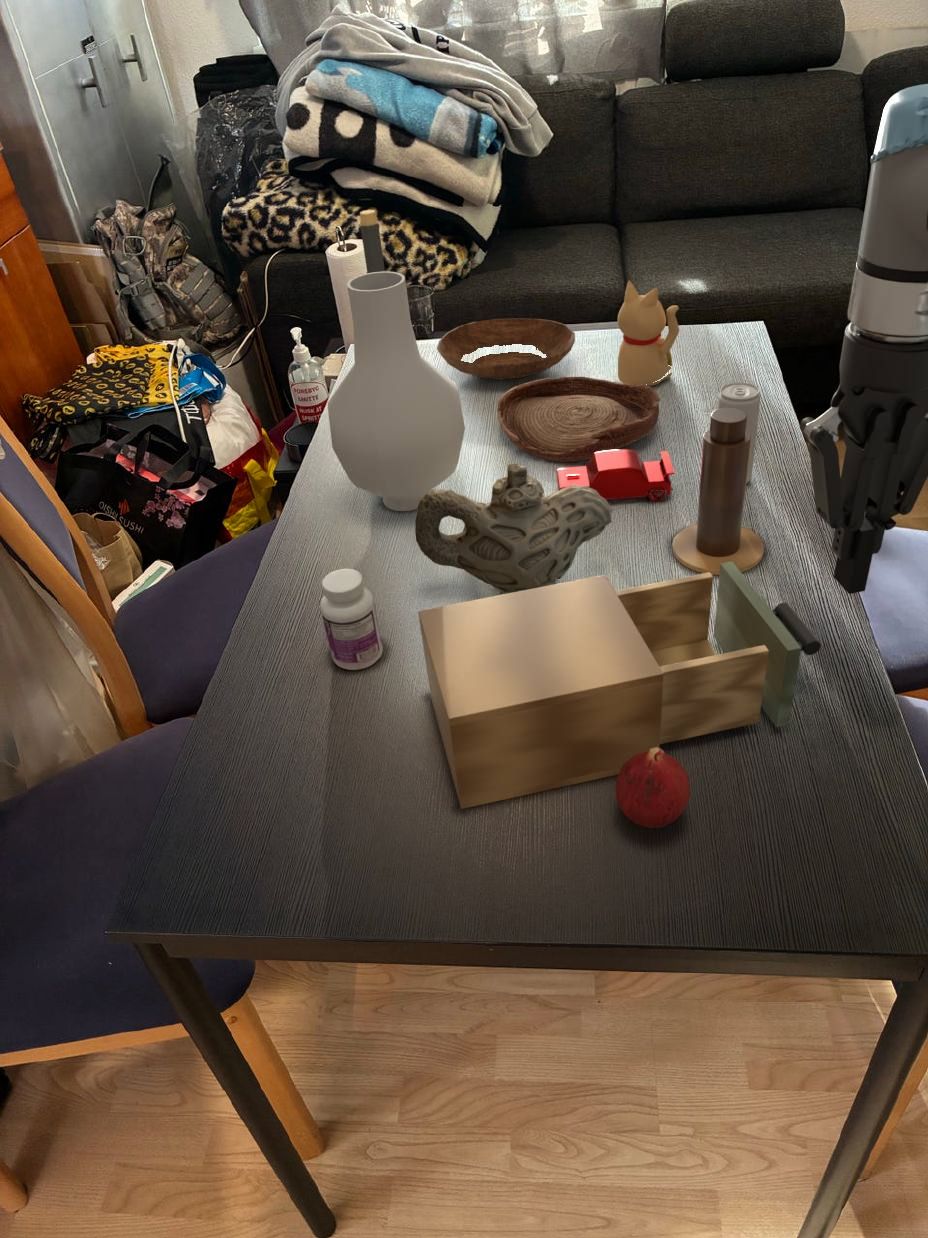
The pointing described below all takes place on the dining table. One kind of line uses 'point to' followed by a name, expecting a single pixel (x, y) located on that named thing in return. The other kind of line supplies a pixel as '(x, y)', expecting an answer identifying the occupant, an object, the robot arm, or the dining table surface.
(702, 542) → the pepper mill
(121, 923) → the dining table surface
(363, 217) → the wine bottle
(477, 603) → the cabinet
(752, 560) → the coaster
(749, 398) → the beverage can
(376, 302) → the vase
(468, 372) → the bowl
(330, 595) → the pill bottle
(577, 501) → the teapot
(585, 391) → the basket
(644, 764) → the red pomegranate
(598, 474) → the toy car
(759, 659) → the drawer
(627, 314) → the figurine
